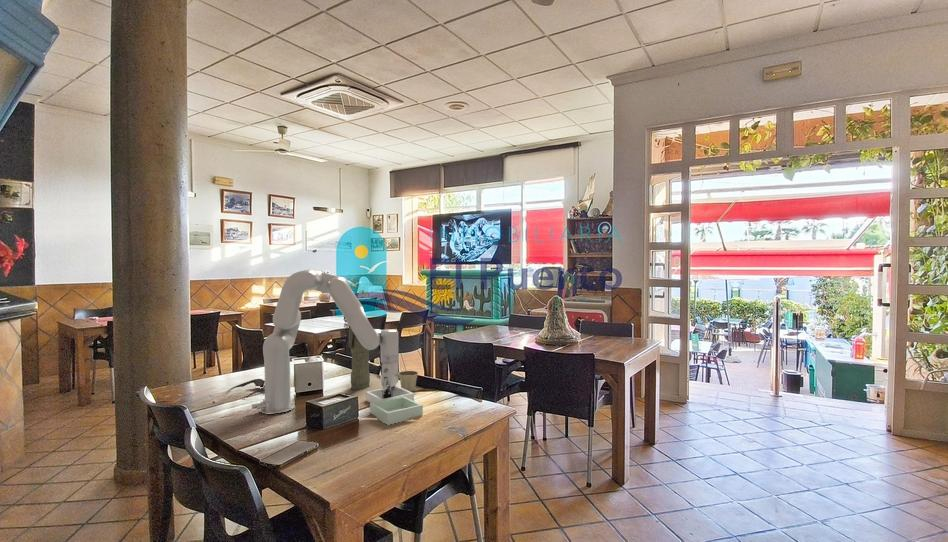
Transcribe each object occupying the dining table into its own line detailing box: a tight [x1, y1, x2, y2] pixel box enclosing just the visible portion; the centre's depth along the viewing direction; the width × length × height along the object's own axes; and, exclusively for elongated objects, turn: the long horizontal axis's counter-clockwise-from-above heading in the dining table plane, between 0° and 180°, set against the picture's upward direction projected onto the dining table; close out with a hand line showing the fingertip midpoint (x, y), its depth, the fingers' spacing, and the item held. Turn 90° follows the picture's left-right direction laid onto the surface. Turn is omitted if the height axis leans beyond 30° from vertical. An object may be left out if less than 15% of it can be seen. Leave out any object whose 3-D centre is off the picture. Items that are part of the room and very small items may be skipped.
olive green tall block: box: [348, 326, 371, 391], centre depth 210 cm, size 9×12×35 cm
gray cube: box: [382, 388, 397, 399], centre depth 186 cm, size 5×5×5 cm
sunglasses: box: [226, 378, 265, 398], centre depth 201 cm, size 16×17×5 cm
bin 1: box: [365, 385, 415, 404], centre depth 186 cm, size 15×15×4 cm
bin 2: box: [369, 396, 424, 426], centre depth 170 cm, size 15×15×4 cm
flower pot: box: [398, 370, 419, 392], centre depth 203 cm, size 9×9×9 cm
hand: (389, 400), depth 186 cm, fingers closed on gray cube, 5 cm apart
